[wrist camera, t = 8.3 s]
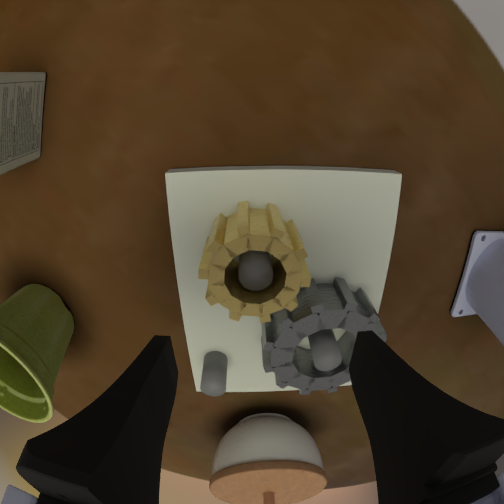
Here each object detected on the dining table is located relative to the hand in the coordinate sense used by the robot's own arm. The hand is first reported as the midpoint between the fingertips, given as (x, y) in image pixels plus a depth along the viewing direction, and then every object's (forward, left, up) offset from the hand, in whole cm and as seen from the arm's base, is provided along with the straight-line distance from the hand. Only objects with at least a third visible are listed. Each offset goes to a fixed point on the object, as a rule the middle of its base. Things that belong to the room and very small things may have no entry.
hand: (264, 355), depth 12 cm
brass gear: (0, -1, -9) cm, 9 cm away
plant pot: (+18, +6, -10) cm, 22 cm away
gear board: (-2, +4, -10) cm, 11 cm away
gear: (-4, +6, -9) cm, 11 cm away
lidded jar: (-1, +21, -10) cm, 23 cm away
